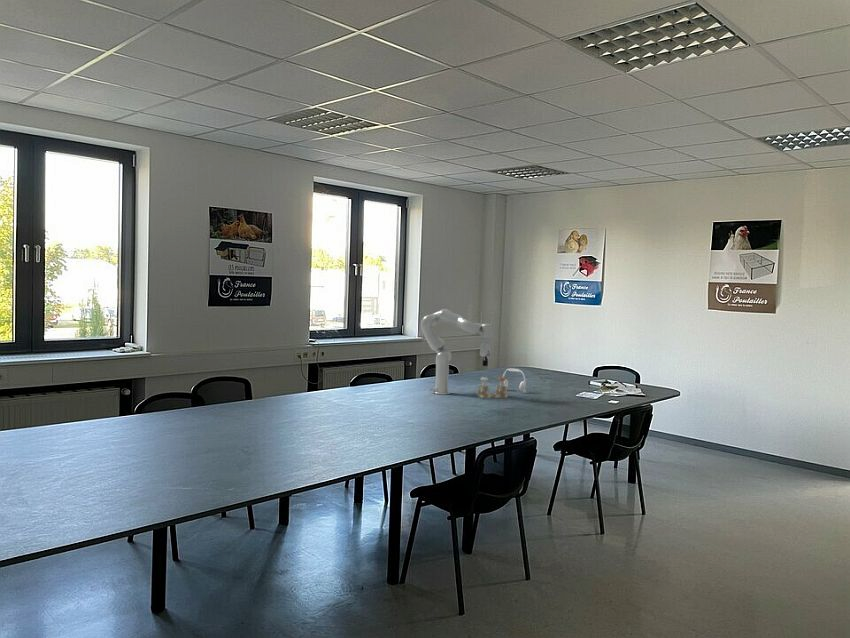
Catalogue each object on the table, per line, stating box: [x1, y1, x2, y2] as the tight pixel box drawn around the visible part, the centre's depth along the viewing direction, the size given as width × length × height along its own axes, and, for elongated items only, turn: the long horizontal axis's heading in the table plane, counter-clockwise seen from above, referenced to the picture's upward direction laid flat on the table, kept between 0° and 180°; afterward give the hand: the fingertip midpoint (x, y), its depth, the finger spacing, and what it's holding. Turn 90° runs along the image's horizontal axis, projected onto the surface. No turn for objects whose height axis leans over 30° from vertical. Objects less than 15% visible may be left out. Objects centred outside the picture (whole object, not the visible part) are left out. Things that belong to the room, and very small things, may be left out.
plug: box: [480, 376, 489, 387], centre depth 464 cm, size 5×5×8 cm
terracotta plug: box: [498, 376, 507, 387], centre depth 468 cm, size 5×5×8 cm
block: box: [476, 385, 509, 399], centre depth 466 cm, size 20×10×8 cm, turn 107°
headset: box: [502, 368, 527, 394], centre depth 492 cm, size 20×7×18 cm, turn 53°
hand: (485, 365), depth 463 cm, fingers closed
